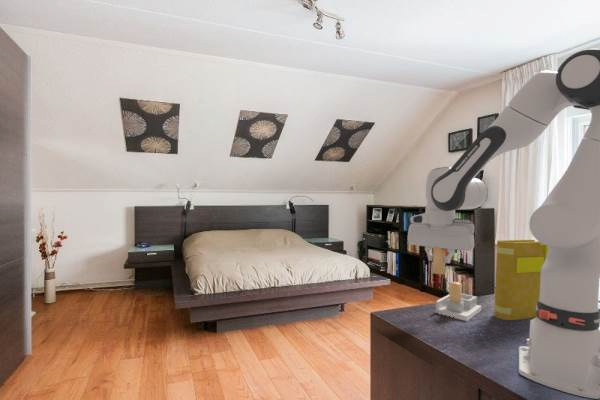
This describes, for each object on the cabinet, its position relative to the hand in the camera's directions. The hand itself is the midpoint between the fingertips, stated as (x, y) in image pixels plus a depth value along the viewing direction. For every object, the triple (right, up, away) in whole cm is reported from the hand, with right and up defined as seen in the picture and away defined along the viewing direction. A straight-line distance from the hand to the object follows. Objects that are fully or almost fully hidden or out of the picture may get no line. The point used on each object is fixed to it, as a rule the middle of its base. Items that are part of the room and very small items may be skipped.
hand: (439, 261), depth 112 cm
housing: (+10, -18, +7) cm, 22 cm away
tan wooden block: (0, -4, 0) cm, 4 cm away
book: (+28, -19, +5) cm, 34 cm away
